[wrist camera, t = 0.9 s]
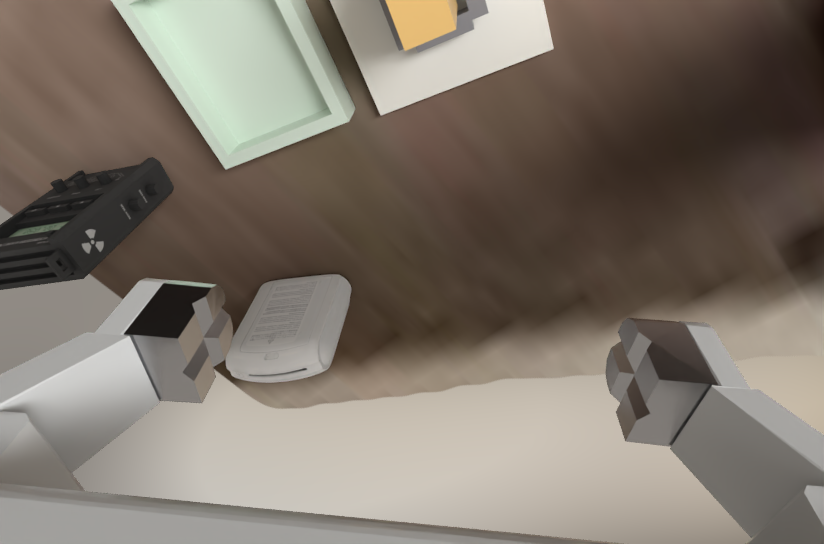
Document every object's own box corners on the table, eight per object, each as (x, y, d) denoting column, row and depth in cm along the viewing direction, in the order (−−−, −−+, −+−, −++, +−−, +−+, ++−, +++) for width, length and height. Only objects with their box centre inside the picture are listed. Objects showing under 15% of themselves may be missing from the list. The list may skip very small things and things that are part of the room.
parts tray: (264, -86, 32) (248, -86, 30) (355, 108, 40) (348, 121, 37) (131, -11, 36) (107, -5, 33) (238, 155, 43) (225, 169, 41)
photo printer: (271, 308, 55) (230, 395, 45) (257, 279, 52) (209, 365, 42) (356, 299, 53) (332, 388, 43) (345, 268, 50) (317, 355, 40)
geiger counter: (160, 145, 43) (45, 235, 31) (184, 189, 46) (87, 288, 34) (64, 164, 45) (-77, 254, 33) (93, 205, 48) (-29, 303, 36)
